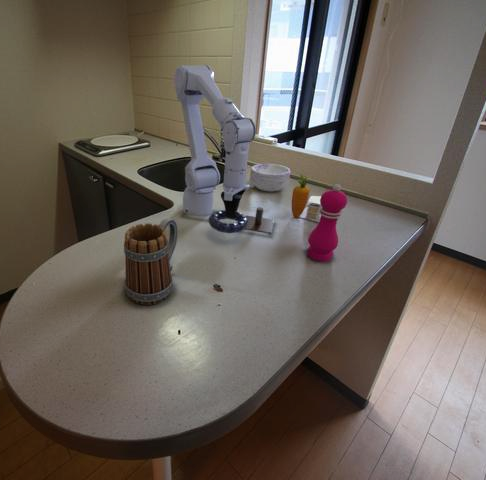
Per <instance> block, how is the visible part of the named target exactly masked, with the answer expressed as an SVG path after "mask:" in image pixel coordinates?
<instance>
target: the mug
mask: <svg viewBox="0 0 486 480" xmlns="http://www.w3.org/2000/svg"><path fill="white" fill-rule="evenodd" d="M167 228H169V238H168V237H167V232H166V230H167ZM178 230H179V229H178V224H177V222H176V220H175V219H172V218H169V217H165V218H163V219H161V221H160V222H159V223H158V224H156V223H154V224H152V223H149V222H148V223H147V222H146V223H144V224H143V223H138V224H136V225H135V226H133V225H132V226H131V227H129V228H128V230H126V231H125V233H124V243H123V253H124V258H125V261H124V262H125V263H124V264H125V265H124V267H125V280H124V290H125V293H126V294H125V295H126V296H127V298H128V299H130V301H132V302H134V303H136V304H140V305H145V306H148V305H151V306H152V305H156V304H159V303H161V302H163V301H165V300H166V299H168V298H169V297H170V296H171V294H172V292H173V287H174V283H173V276H172V273H171V272H172V270H173V266H174V265H173V264H171V263H170V262H171V261H170V260H171V259H172V257H173V254H174V252H175V250H176V245H177V241H178V233H179V232H178Z"/></svg>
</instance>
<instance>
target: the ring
mask: <svg viewBox="0 0 486 480" xmlns="http://www.w3.org/2000/svg"><path fill="white" fill-rule="evenodd" d="M221 220H232V221H235V222H234V223H232V222H231V223H228V222H222V221H221ZM208 224H209V226H210V227H211V229H213V230H215V231H217V232H220V233H225V234H236V233H240V232H242V231H244V230H246V227H247V225H248V219H247V218H246V215H245V214H243V213H241V212H239V211H238V210H237V211H236V213H235V216H234V218H230V217H227V216H226V211H225V209H223V210H218V211H215V212H212V214H210V215H209V218H208Z"/></svg>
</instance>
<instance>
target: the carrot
mask: <svg viewBox="0 0 486 480" xmlns="http://www.w3.org/2000/svg"><path fill="white" fill-rule="evenodd" d="M309 181H310V179H309V177H308V176H305V178H304V173H300V179H297V182H298V183H299V185H295V187H293V191H292V194H291V195H292V196H291V213H292V216H293V219H295V220H298V219H299V218H301V217H300V215H301V214H302V213H303V211H304V209H305V208H306V207H307V204H308V202H309V201H308V200H309V198H310V194H311V193H310V192H311V189H310V187H308V186H307V184H308V183H309Z"/></svg>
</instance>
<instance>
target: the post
mask: <svg viewBox="0 0 486 480" xmlns="http://www.w3.org/2000/svg"><path fill="white" fill-rule="evenodd" d="M255 209H256V210H255V216H254V215H253V216H252V215H245V217H246V218H247V219H248V225H247V227H246V229H245V230H246V231H253V232H259V233H264V234H272V231H273V227H274V223H275V219H271V218H266V217H263V215H264V208H263V207H262V206H261V207H260V206H258V207H256V208H255Z"/></svg>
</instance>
